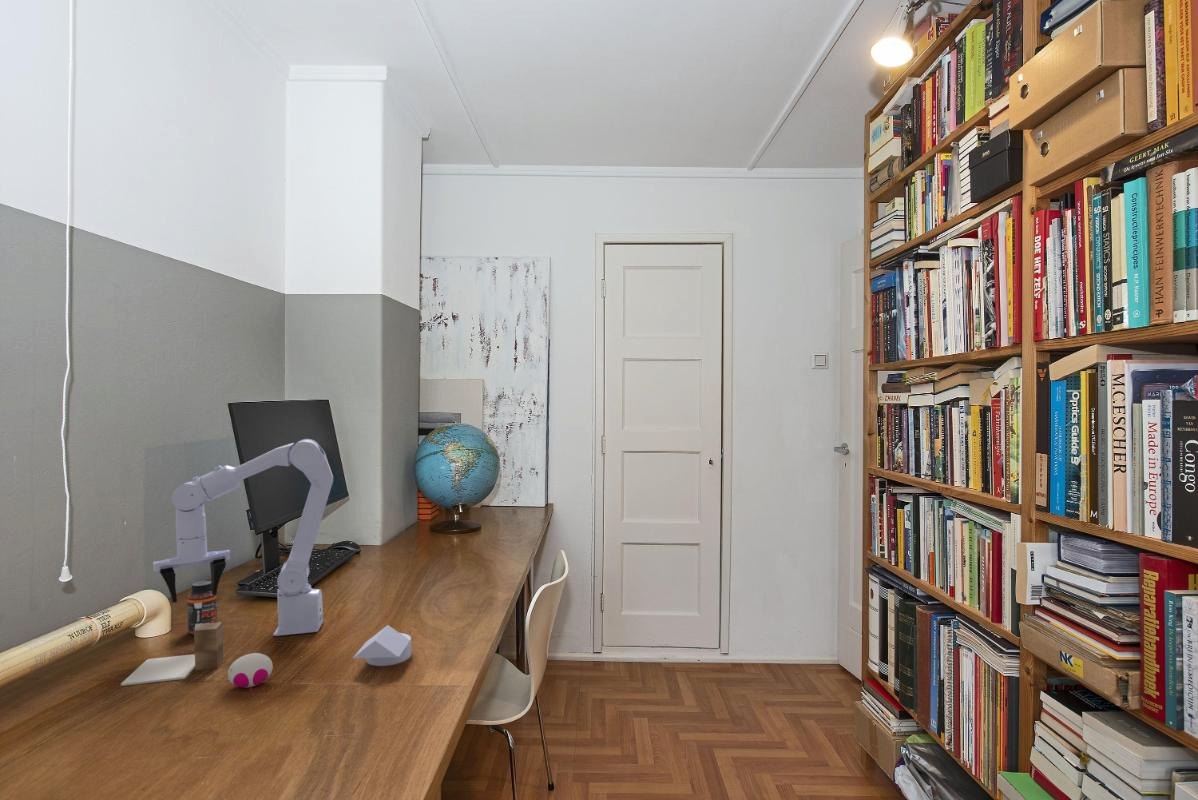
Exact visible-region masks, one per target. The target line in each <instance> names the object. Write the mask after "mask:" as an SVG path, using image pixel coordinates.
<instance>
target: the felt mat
mask: <svg viewBox="0 0 1198 800" xmlns="http://www.w3.org/2000/svg"><path fill="white" fill-rule="evenodd" d="M194 670H195V653H194V654H184V655H176V656H175V655H173V656H165V657H155V658H148V659H146V660H145V661H144V662H143V663H141V664H140V666H138V667H137V668H136V669H135V670H134V671H132V673H131V674H130V675H129V676H128V677H126V679H124V680H122V682H121V683H120V686H121V687H122V686H124V687H125V686H131V685H132V686H133V685H140V684H142V685H143V684H149V683H157V682H158V683H159V682H167V681H168V682H170V681H177V680H179V681H180V680H185V679H186V678H187V677H189V675H190V674H191V673H192V672H193V671H194Z"/></svg>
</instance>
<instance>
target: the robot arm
mask: <svg viewBox="0 0 1198 800" xmlns="http://www.w3.org/2000/svg"><path fill="white" fill-rule="evenodd" d="M291 464H292V465H293V466H294V467H295V468H297V469H298V470H299V471H301V472H302V473H303V474H304V476H305V477H306V479H308V480H309V481H308V482H309V483H310V487H309V491H308V495H307V498H306V501H305V504H304V507H303V510H302V514H301V517H300V520H299V523H298V526H297V530H296V533H295V537H294V540H293V543H292V547H291V550H290V553H289V556H288V559H287V560H286V561H285V562H284V563H283V565H282V567H281V569H280V572H279V573H278V574H279V575H278V577H277V581H276V585H277V587H278V590H277V592H276V593H277V596H276V597H277V619H278V620H277V621H278V627H276V629H275V631H274V632H273V635H272V636H274V637H280V636H289V635H290V636H291V635H297V634H300V635H301V634H307V633H310V634H311V633H317V632H319V631H320V628H321V626H322V624H323V623H324V613H323V593H322V589H319V588H312V585H311V584H310V583H309V582H308V580H309V579H308V577H309V575H310V569H311V568H310V565H309V562H310V558H311V555H312V552H313V548H314V545H315V542H316V538H317V536H318V532H319V529H320V526H321V522H322V520H323V516H324V512H325V508H326V506H327V503H328V499H329V496H330V492H331V490H332V489H331V488H332V487H333V483H334V475H333V473H332V469H331V466H330V464H329V461H328V457H327V454H326V451H324V449H323V448H322V447H321V445H320V444H319V443H318V442H317V441H316V440H314V439H311V438H304V439H300V440H299V441H297V442H296V443H295V442H292V443H288V444H285V445H283V446H282V445H281V446H279V447H275V448H274V449H272V450H270V451H267V452H266V453H265V452H264V453H262V454H261V455H259V456H257V457H254V458H253V459H251V460H249V461H246V462H245V463H242V464H240V465H238V466H231V465H227V464H226V465H224V466H222V465H218V466H215V467H214V468H213V469H214V470H212V471H210V472H209V473H206V474H204V475H202V476H198V475H196V476H194V477H193V478H191V480H192V481H187V482H184V483H182V484H181V485H180V486H177V488H175V490H174V491H173V493H172V495H171V502H172V504H173V506H174V507H175V533H176V534H175V535H176V537H175V538H176V555H177V556H175V557H171V558H166V559H163V560H158V561H157V560H156V561H153V562H152V565H153V566H152V567H153V572H154V573H158V572H159V573H160V575H161V577H162V578H163V580H164V582H165V585H166V586H167V588H168V591H169V594H170V597H171V602H172V603H174V604H175V603H178V602H177V601H178V597H177V591H176V572H175V569H177V568H178V569H179V568H184V567H190V566H195V565H197V566H198V565H201V564H208V563H209V567H210V575H211V576H210V577H211V580H210V581H211V592H212V594H213V595H215V594H218V588H219V583H220V579H221V578H222V574H223V572H224V570H225V568H226V567H227V561H229V560H231V550H229V549H226V550H225V549H224V550H216V551H208V538H207V520H206V518H207V517H206V513H205V501H208V502H210V501H213V500H214V499H216V498H217V499H218V498H219V497H221V496H223V495H226V494H229V493H230V492H232V491H234V490H237V489H238V488H240V485H241V482H242V481H243V480H245V479H246V478H249V477H252V476H254V475H257V474H259V473H261V472H263V471H266V470H268V469H270V468H272V467H275V466H280V467H281V466H282V467H283V466H285V467H289V466H290V465H291Z"/></svg>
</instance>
